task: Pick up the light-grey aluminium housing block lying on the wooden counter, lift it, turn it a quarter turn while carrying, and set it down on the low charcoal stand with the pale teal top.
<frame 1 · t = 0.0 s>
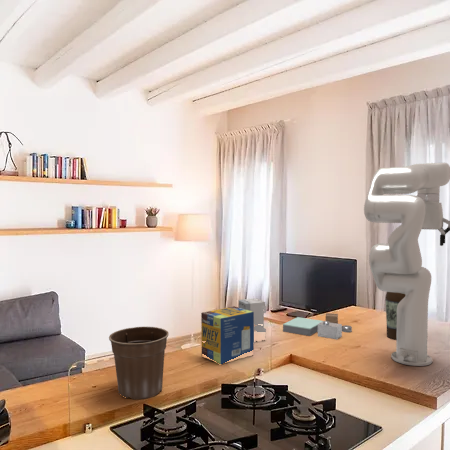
hand: (427, 244, 170), 37 cm above the worktop, tool pointing down, fingers open, 9 cm apart
stand: (303, 329, 189), on the worktop
protein box: (227, 357, 156), on the worktop
plant pot: (139, 391, 127), on the worktop
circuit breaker: (244, 340, 175), on the worktop
printed label canister: (399, 337, 178), on the worktop
walnut block: (331, 326, 195), on the worktop
housing: (329, 336, 180), on the worktop
steel spacer: (346, 331, 187), on the worktop
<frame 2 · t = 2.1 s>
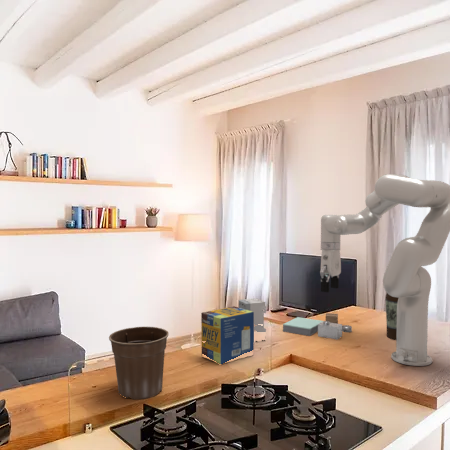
hand: (329, 289, 179), 18 cm above the worktop, tool pointing down, fingers open, 9 cm apart
nothing on the worktop moved.
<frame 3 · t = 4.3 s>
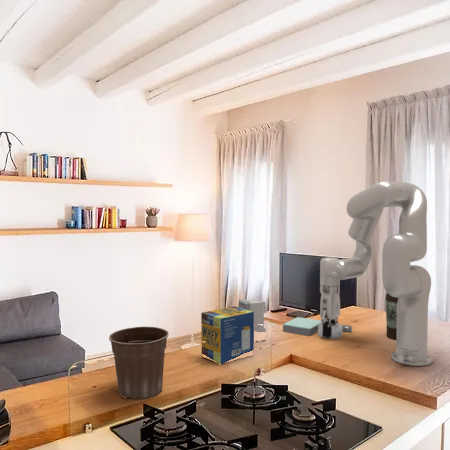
hand: (329, 334, 180), 1 cm above the worktop, tool pointing down, fingers closed on housing, 5 cm apart
housing: (330, 336, 180), on the worktop, touching gripper
everything else where it was.
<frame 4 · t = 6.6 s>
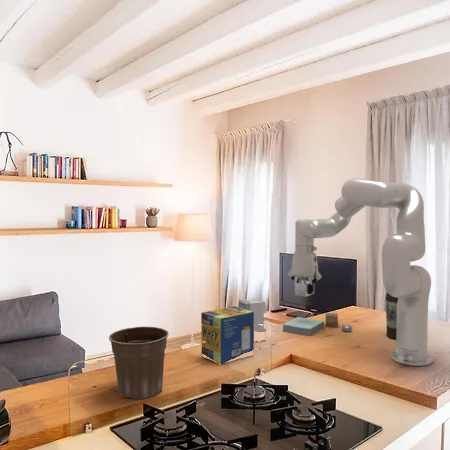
hand: (304, 292, 188), 16 cm above the worktop, tool pointing down, fingers closed on housing, 5 cm apart
housing: (304, 294, 189), point 15 cm above the worktop, touching gripper
everything else where it was.
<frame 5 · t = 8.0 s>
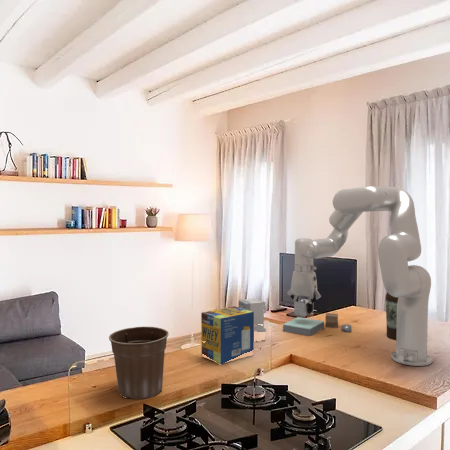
hand: (303, 311, 189), 8 cm above the worktop, tool pointing down, fingers closed on housing, 5 cm apart
housing: (303, 313, 189), point 7 cm above the worktop, touching gripper
everything else where it was.
when the fingers open (5 cm above the worktop, at t = 8.9 s): housing drops 1 cm, resting on stand.
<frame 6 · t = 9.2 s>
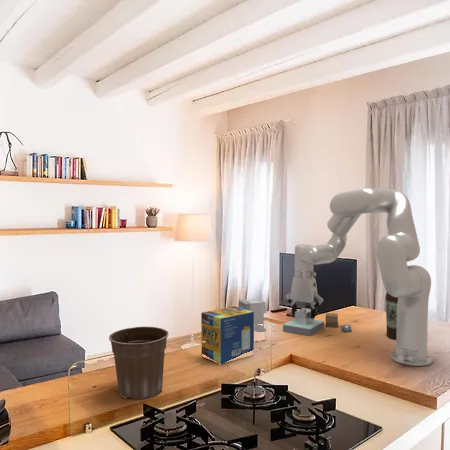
hand: (303, 316, 189), 6 cm above the worktop, tool pointing down, fingers open, 7 cm apart
housing: (304, 322, 189), point 3 cm above the worktop, touching stand
everything else where it was.
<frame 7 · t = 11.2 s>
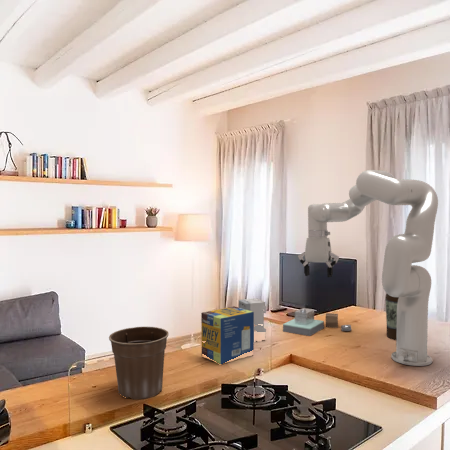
hand: (318, 276, 186), 23 cm above the worktop, tool pointing down, fingers open, 9 cm apart
nothing on the worktop moved.
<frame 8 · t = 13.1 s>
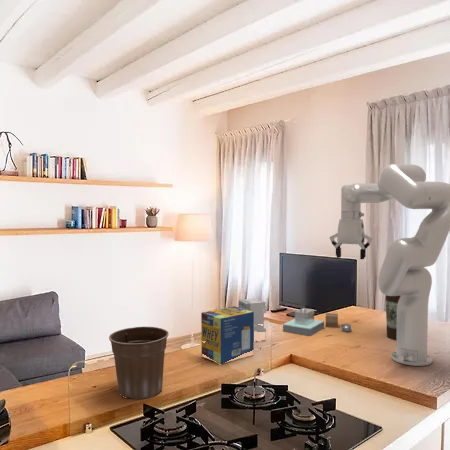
hand: (350, 258, 183), 30 cm above the worktop, tool pointing down, fingers open, 9 cm apart
nothing on the worktop moved.
at the end: housing inside the target area on the stand (0.4 cm from its centre), point 3.0 cm above the stand's base; housing tilted 0°; the gripper is holding nothing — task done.
